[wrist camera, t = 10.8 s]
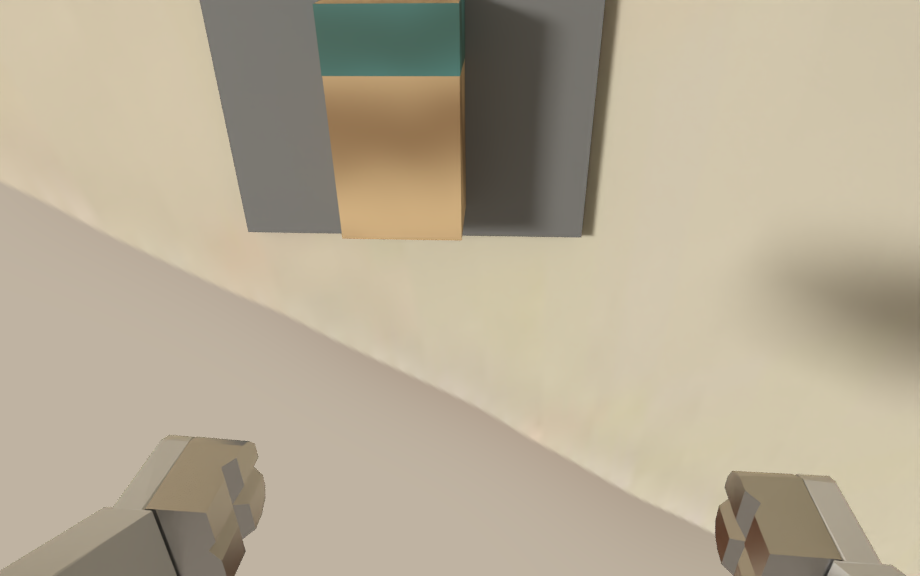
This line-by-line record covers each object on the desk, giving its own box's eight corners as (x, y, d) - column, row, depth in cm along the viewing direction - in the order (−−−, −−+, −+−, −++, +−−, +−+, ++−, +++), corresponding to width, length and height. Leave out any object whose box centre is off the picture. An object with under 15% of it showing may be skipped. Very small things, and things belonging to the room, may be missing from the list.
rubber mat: (608, -55, 23) (610, -54, 23) (579, 231, 30) (581, 237, 29) (195, -51, 24) (189, -50, 24) (252, 226, 31) (248, 231, 30)
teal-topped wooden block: (466, 205, 29) (462, 240, 26) (358, 204, 29) (341, 238, 26) (464, -9, 24) (459, 3, 21) (336, -9, 24) (312, 3, 21)
